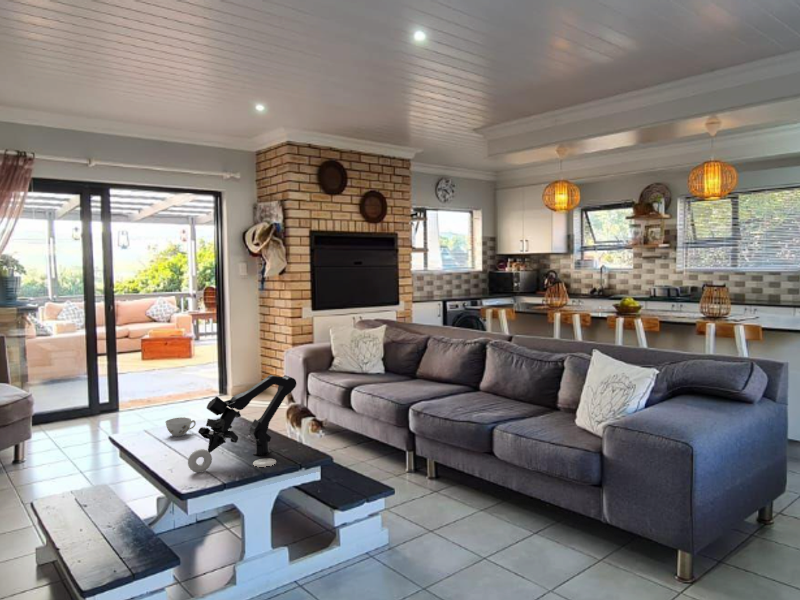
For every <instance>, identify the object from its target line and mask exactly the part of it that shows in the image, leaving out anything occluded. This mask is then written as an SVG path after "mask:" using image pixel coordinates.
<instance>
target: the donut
mask: <svg viewBox="0 0 800 600" xmlns="http://www.w3.org/2000/svg"><path fill="white" fill-rule="evenodd" d="M199 458H202V459H203V462H201V464H198V463H197V460H198V459H199ZM212 461H213V457H212V454H211V452H209V451H208V449H204V448H199V449H196V450H194V451H192V452H191V454H190V455H189V457H188V460H187V466H188V468H189V470H191V471H192V472H193V473H200V472H201V473H203V472H205V471H207V470H208V469H209V468H210V467H211V465H212Z"/></svg>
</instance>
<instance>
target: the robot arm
mask: <svg viewBox="0 0 800 600" xmlns="http://www.w3.org/2000/svg"><path fill="white" fill-rule="evenodd" d="M273 385H277V391H276V393H275V394H274V396H273V397H272V399H271V400H270V403H268V406H267V407H266V408H265V410H264V411H263V413H262V415H261V417H260V418H259V419H256V418H255V419H253V421H252V423H251V425H249V427H250V428H249V434H250V436H251V437H253V439H254V440H255V452H253V456H267V455H269V454H270V453H271V452H272V449H269V448H270V447H269V442H271V439H272V436H271V435H269V434H267V433H268V431H269V426H270V423H271V420H272V419H273V417H274V415H276V412H277V411H278V409H279V408H280V406H281V405H282V403H283V401H284V400H285V398H286V397H287V396H288V395H289V394H291V393H292V392H293V391H294V389H295V388H296V387H297V385H298V383H297V381H296V379H295V378H294V377H291V376H288V375H284V376H278V375H273V374H269V375H267V377H265V378H264V379H263V380H260V381H259V382H258V383H257V384H255V385H253V386H252V387H251V388H249V389H248V390H246V391H243V392H240V393H238V394H235V395H233V396H232V397H231V398H230V399H227V400H222V399H221V398H220V397H219V396H215V397H214V398H213V399H211V400H210V401H209V402H208V403H207V405H206V409H207V410H208V411H210V412H212V414H214V415H215V416H220V417H219V418H216V419H211V418H207V421H206V424H205V427H203V426H201V427H200V428H199V429H198V431H197V433H198V434H199V435H200V436H201V437H203V438H204V439H205V440H208V447H207V451H209V452H210V453H212V452H213V451H215V450H216V449H217V448H219V447H220V446H222V445H223V444H226V442H227V439H230V443H234V444H237V443H238V440H239V436H238V435H237V433H236V432H235V431H233V430H229V429H232V428H233V426H232V424H233V422H234V420H235V419H236V418H241V416H242V414H241V413H240V411H242V410H244V409H245V408H247V406H248V405H249V404H250V403H251V401H252V400H253V399H254V398H256V397H257V396H259V395H260V394H262V393H264V392H265V391H266V390H267V389H269V388H271V386H273ZM268 453H269V454H268Z"/></svg>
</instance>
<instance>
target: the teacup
mask: <svg viewBox="0 0 800 600" xmlns="http://www.w3.org/2000/svg"><path fill="white" fill-rule="evenodd" d="M192 423H193V426H191V425H192ZM196 424H197V423H196V420H195V419H194V420H193V419H191V418H189V417H185V416H184V417H180V416H179V417H173V418H170V419H167V420H165V425H166V429H167V432H169V434H171V435H172V436H173V437H175V436H178V437H182V436H181V435H183V436H185V435H184V434H186V433H188V431H189V430H192V429H194V427H196Z"/></svg>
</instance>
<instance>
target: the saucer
mask: <svg viewBox="0 0 800 600" xmlns="http://www.w3.org/2000/svg"><path fill="white" fill-rule="evenodd" d="M274 464H275V465H277V460H276V459H275V458H270V457H269V458H260V459H256V460H254V461H253V463H252V466H253V465H254V466H253V467H255V466H257V467H256V468H259V467H264V468H267V467H266V466H270V467H273V466H275V465H274ZM272 465H273V466H272Z"/></svg>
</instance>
